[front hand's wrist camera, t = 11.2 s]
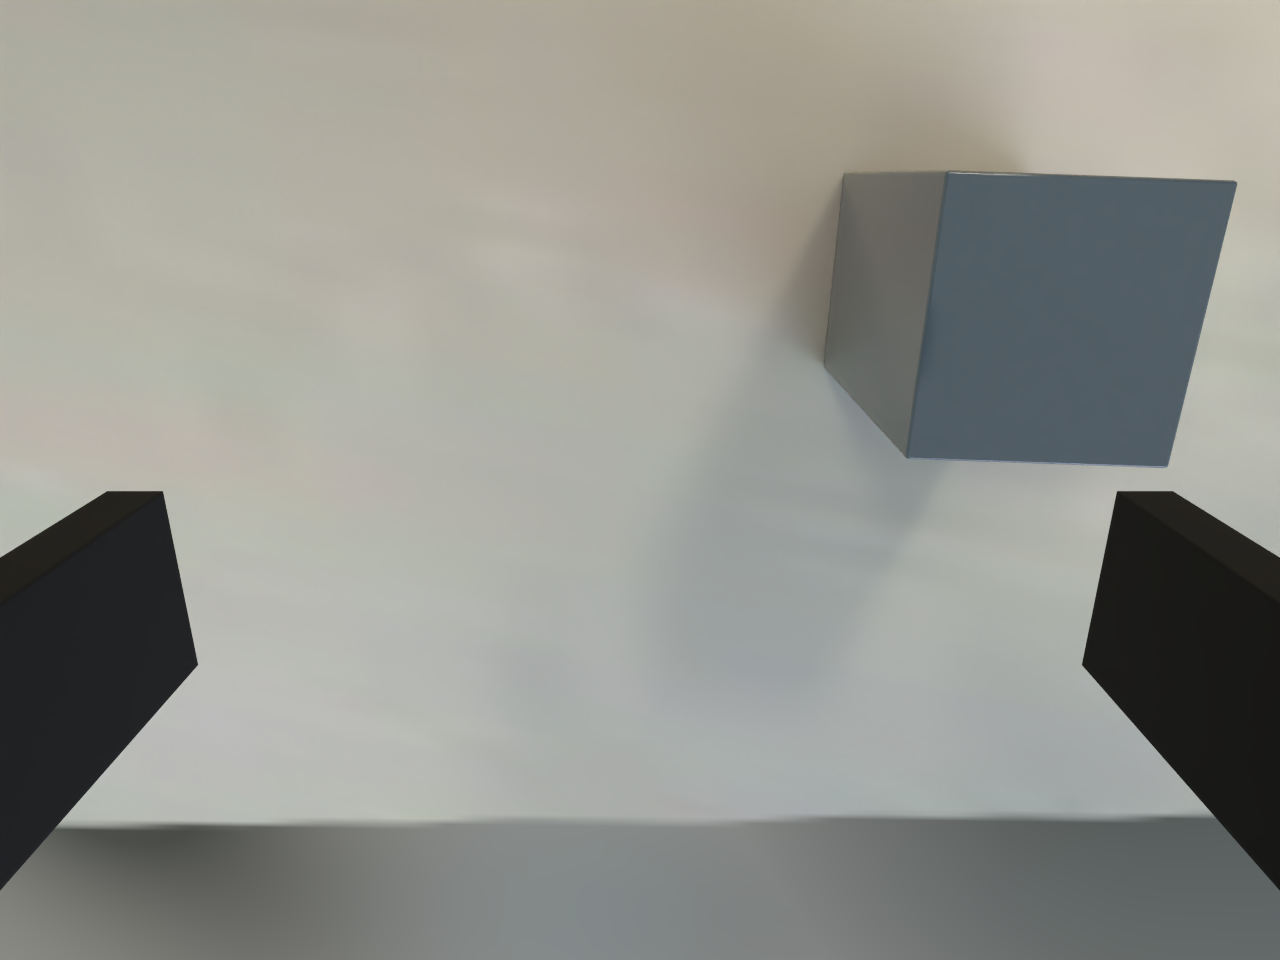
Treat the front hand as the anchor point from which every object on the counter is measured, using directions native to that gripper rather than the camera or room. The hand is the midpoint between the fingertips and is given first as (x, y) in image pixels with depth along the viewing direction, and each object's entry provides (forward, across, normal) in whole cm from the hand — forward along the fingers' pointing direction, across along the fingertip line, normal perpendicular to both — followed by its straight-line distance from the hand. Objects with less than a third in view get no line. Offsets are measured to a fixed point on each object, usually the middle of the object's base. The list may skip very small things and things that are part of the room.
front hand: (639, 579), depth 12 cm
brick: (+15, +8, +2) cm, 18 cm away
